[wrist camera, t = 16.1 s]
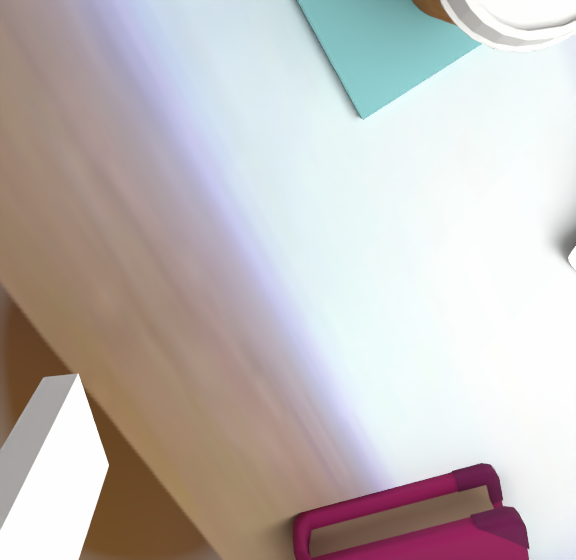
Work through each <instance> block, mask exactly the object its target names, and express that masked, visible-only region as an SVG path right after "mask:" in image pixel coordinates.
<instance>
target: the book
mask: <svg viewBox="0 0 576 560" xmlns="http://www.w3.org/2000/svg"><path fill="white" fill-rule="evenodd" d="M502 500H503V497H502V491H501V486H500V480H499V477H498V475H497V473H496V472H495V470H494V469H493V467H492V466H491V465H489V464H483V463H481V464H477V465H473V466H470V467H466V468H462V469H458V470H455V471H452V473H448V474H444V475H440V476H437V477H433V478H429V479H425V480H422V481H418V482H414V483H410V484H407V485H403V486H399V487H395V488H392V489H388V490H384V491H380V492H377V493H373V494H369V495H365V496H362V497H358V498H354V499H350V500H347V501H343V502H339V503H335V504H332V505H328V506H324V507H320V508H317V509H313V510H309V511H305V512H302V513H300V514H299V515H298V516H297V518H296V520H295V521H294V523H293V546H294V554H295V558H296V560H529V557H528V551H527V548H528V549H529V543H528V537H527V530H526V526H525V524H524V522H523V520H522V519H521V517H520V515H519V513H518V512H517V511H516V509H515V508H514V507H507V506H502Z"/></svg>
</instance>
